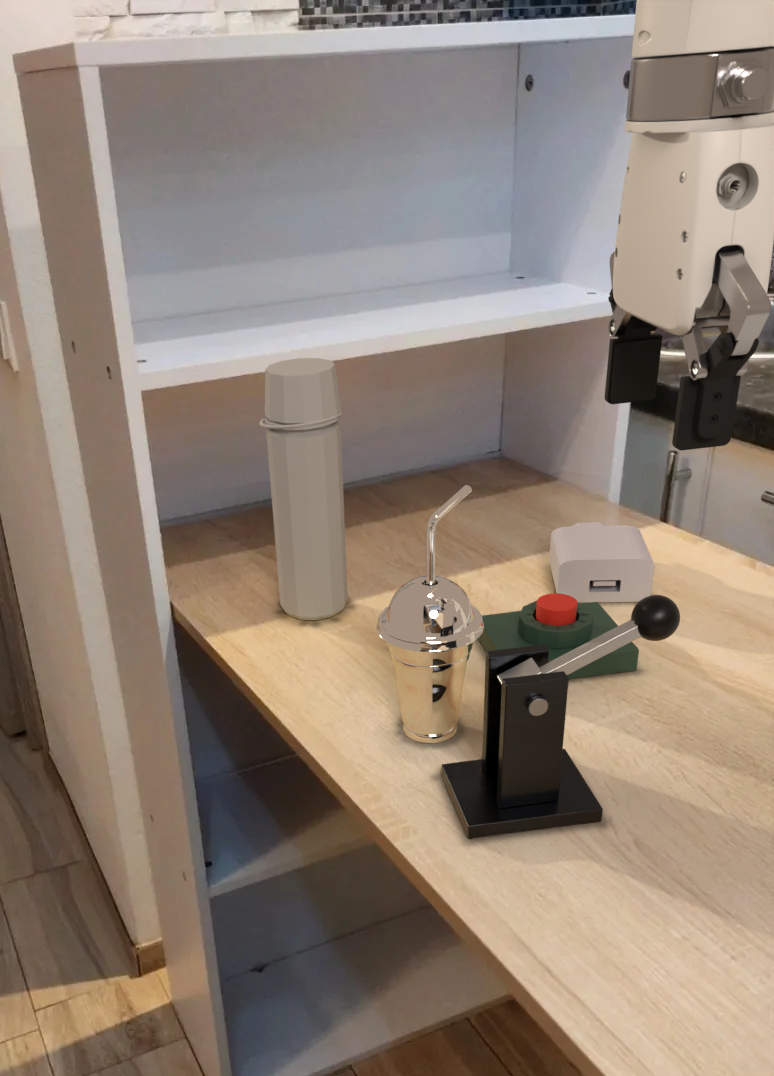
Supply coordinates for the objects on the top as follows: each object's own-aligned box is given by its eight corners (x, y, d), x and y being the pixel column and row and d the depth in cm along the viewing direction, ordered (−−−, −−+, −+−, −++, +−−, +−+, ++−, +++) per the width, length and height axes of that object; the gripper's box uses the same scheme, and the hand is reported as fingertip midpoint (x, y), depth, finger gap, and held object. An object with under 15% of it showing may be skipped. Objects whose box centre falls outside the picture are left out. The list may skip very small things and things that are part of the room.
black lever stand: (563, 760, 82) (575, 629, 76) (601, 821, 75) (617, 683, 69) (441, 776, 82) (442, 645, 75) (468, 839, 75) (471, 701, 69)
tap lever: (673, 614, 73) (660, 579, 72) (693, 634, 71) (680, 599, 69) (508, 699, 76) (492, 667, 74) (522, 722, 73) (505, 690, 71)
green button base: (595, 621, 101) (599, 584, 99) (636, 670, 93) (641, 631, 91) (476, 635, 101) (477, 599, 99) (506, 686, 92) (508, 647, 90)
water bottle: (364, 609, 107) (356, 365, 94) (301, 631, 104) (283, 382, 91) (317, 580, 114) (303, 349, 101) (256, 600, 111) (234, 364, 98)
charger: (627, 543, 116) (650, 602, 104) (543, 544, 118) (556, 603, 105) (631, 503, 114) (655, 558, 101) (546, 505, 115) (559, 560, 103)
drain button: (567, 608, 96) (569, 591, 96) (581, 625, 93) (583, 608, 92) (530, 612, 96) (531, 595, 95) (543, 629, 93) (544, 612, 92)
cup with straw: (362, 717, 90) (354, 499, 79) (453, 691, 92) (456, 476, 82) (409, 767, 83) (406, 536, 72) (505, 737, 85) (516, 510, 75)
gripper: (874, 89, 46) (800, 460, 55) (695, 88, 61) (660, 380, 70) (713, 104, 46) (665, 475, 55) (572, 99, 60) (552, 392, 69)
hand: (662, 422), depth 62 cm, fingers open, 9 cm apart
